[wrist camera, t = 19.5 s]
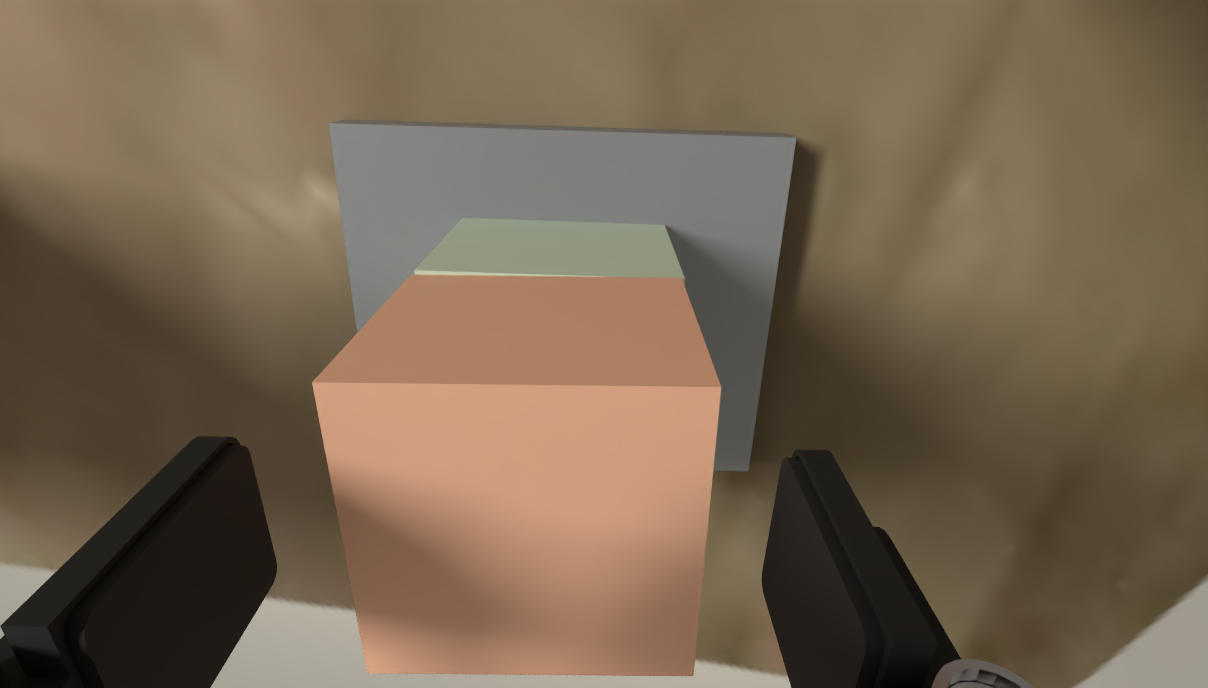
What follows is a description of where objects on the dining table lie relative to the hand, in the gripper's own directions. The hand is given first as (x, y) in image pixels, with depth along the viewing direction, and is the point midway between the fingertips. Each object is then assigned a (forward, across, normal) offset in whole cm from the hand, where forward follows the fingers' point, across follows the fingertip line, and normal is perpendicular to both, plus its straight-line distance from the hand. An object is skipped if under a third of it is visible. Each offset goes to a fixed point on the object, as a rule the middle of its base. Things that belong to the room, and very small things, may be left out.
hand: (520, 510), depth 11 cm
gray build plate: (+12, 0, +1) cm, 12 cm away
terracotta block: (+5, 0, +1) cm, 5 cm away
